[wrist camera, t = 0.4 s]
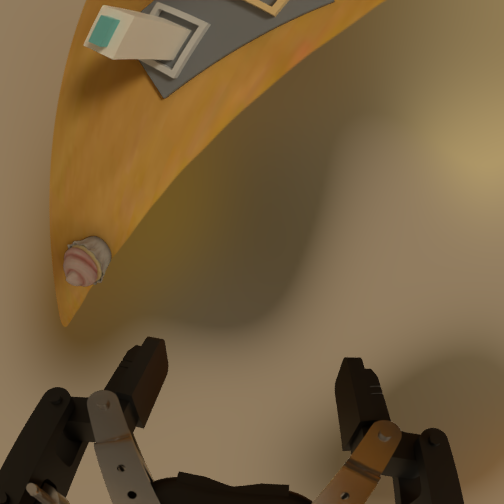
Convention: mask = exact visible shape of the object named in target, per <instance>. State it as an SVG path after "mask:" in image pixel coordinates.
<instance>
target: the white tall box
mask: <svg viewBox="0 0 504 504" xmlns="http://www.w3.org/2000/svg"><path fill="white" fill-rule="evenodd" d="M190 32H191V30H189V29H187V28H185V27H183V26H180V25H178V24H176V23H174V22H171V21H169V20H167V19H165V18H161V17H157V16H153V15H150V14H145V13H141V12H137V11H132V10H128V9H123V8H117V7H112V6H106V5H103V6H102V8H101V10H100V12H99V14H98V16H97V18H96V20H95V22H94V24H93V26H92V28H91V30H90V32H89V34H88V36H87V39H86V41H85V43H84V46H86V47H88V48H90V49H92V50H94V51H96V52H98V53H101V54H103V55H105V56H107V57H109V58H111V59H113V60H114V59H156V60H174V58H175V56H176V55H177V53H178V51H179V50H180V48H181V46H182V45H183V43H184V42H185V40H186V38H187V37H188V35H189V34H190Z"/></svg>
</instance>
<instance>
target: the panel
mask: <svg viewBox="0 0 504 504" xmlns="http://www.w3.org/2000/svg"><path fill="white" fill-rule="evenodd" d="M333 2H334V0H154V1H153V2H152V3H151V4H149V5H148V6H147V7H146V8H145V9H143V10H142V11H141V13H145V14H150V15H153V16H157V17H161V18H165V19H167V20H169V21H171V22H174V23H176V24H178V25H180V26H183V27H185V28H187V29H189V30H191V32H190V34H189V35H188V37H187V38H186V40H185V42H184V43H183V45H182V46H181V48H180V50H179V51H178V53H177V55H176V56H175V58H174V60H156V59H138V60H139V61H140V63H141V64H142V66H143V67H144V69H145V70H146V72H147V73H148V75H149V76H150V78H151V79H152V81H153V83H154V84H155V86H156V87H157V89H158V90H159V92H160V93H161V95H162V96H163V98H167V97H168V96H169V95H171V94H172V93H173V92H175V91H176V90H177V89H179V88H180V87H181V86H183V85H184V84H185V83H187V82H188V81H190V80H191V79H192V78H194V77H195V76H197V75H198V74H200V73H201V72H203V71H204V70H205V69H207V68H208V67H210V66H211V65H213V64H215V63H216V62H218V61H219V60H221V59H222V58H224V57H225V56H227V55H229V54H230V53H232V52H234V51H235V50H237V49H239V48H240V47H242V46H244V45H245V44H247V43H249V42H251V41H252V40H254V39H256V38H258V37H260V36H262V35H263V34H265V33H267V32H269V31H271V30H273V29H275V28H277V27H279V26H281V25H283V24H285V23H287V22H289V21H291V20H293V19H295V18H298V17H300V16H302V15H304V14H306V13H309V12H311V11H313V10H316V9H318V8H321V7H323V6H325V5H328V4H331V3H333Z"/></svg>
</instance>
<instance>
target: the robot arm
mask: <svg viewBox="0 0 504 504" xmlns="http://www.w3.org/2000/svg"><path fill="white" fill-rule="evenodd" d="M167 372H168V359H167V353H166V346H165V341H164V340H163V339H159V338H153V337H147V338H146V339H145V341H144V343H143V344H142V346H138V345H136V346H134V347H133V348H132V349H130V350H129V351H128V352H127V353H126V355H125V356H124V358H123V361H121V363H120V364H119V367H118V368H117V369H116V371H115V372H114V374H113V376H112V377H111V379H110V381H109V382H108V384H107V386H106V387H105V389H104V390H100V391H97V392H94V393H93V394H91V396H90V397H89V398H83V397H71V396H70V394H69V393H68V391H67V390H66V389H64V388H60V387H55V388H52V389H50V390H48V391H47V392H46V393H45V394H44V396H43V397H42V399H41V400H40V402H39V403H38V405H37V406H36V408H35V410H34V411H33V413H32V414H31V416H30V418H29V419H28V421H27V423H26V424H25V426H24V428H23V430H22V431H21V433H20V435H19V436H18V438H17V440H16V442H15V444H14V445H13V447H12V449H11V451H10V453H9V454H8V456H7V458H6V460H5V462H4V464H3V466H2V468H1V470H0V504H70V503H69V501H68V500H67V499H66V496H67V493H68V491H69V488H70V485H71V483H72V480H73V478H74V476H75V473H76V471H77V468H78V466H79V464H80V461H81V459H82V456H83V454H84V452H85V449H86V447H87V445H88V443H89V442H96V443H94V449H95V452H96V456H97V459H98V463H99V466H100V469H101V472H102V475H103V478H104V481H105V484H106V487H107V490H108V492H109V495H110V498H111V500H112V503H113V504H365V502H366V501H367V499H368V498H369V496H370V495H371V493H372V492H373V490H374V489H375V487H376V486H377V484H378V482H379V481H380V478H381V477H380V476H381V475H385V476H392V477H393V484H394V493H395V502H396V504H464V501H463V496H462V492H461V487H460V483H459V479H458V474H457V470H456V467H455V463H454V460H453V455H452V452H451V449H450V445H449V442H448V438H447V436H446V435H445V433H444V432H442V431H441V430H439V429H436V428H430V429H426V430H425V431H423V432H422V434H421V435H418V434H412V433H406V432H403V431H401V430H400V428H399V427H398V426H397V425H396V424H395V423H393V422H391V420H390V417H389V413H388V410H387V406H386V403H385V399H384V396H383V394H382V390H381V387H380V383H379V380H378V377H377V376H376V374H375V373H374V372H373V371H372V370H371V369H365V368H364V365H363V361H362V359H361V358H346V357H345V358H344V359H343V362H342V364H341V367H340V371H339V373H338V377H337V379H336V383H335V397H336V404H337V411H338V418H339V425H340V432H341V440H342V449H343V451H351V456H350V458H349V459H348V460H347V461H346V462H345V464H344V465H343V466H342V468H341V469H340V470H339V471H338V473H337V474H336V475H335V476H334V478H333V479H332V480H331V481H330V483H329V484H328V485H327V486H326V488H325V489H324V490H323V491H322V492H321V493H320V494H319V496H318V497H317V498H316V499H315V500H314V501H313V502H312V501H311V500H309V499H308V498H306V497H304V496H302V495H300V494H298V493H295V492H292V491H289V485H278V484H255V485H247V486H236V487H233V486H228V485H226V484H223V483H220V482H217V481H215V480H212V479H210V478H207V477H204V476H198V475H193V474H188V473H184V472H179V473H178V477H172V478H164V479H160V480H156V481H154V479H153V477H152V475H151V474H150V471H149V469H148V467H147V465H146V463H145V461H144V458H143V456H142V454H141V451H140V449H139V447H138V444H137V442H136V439H135V437H134V434H133V432H134V429H135V427H140V428H144V427H145V425H146V422H147V420H148V418H149V415H150V413H151V411H152V408H153V406H154V404H155V401H156V399H157V397H158V394H159V392H160V390H161V387H162V385H163V382H164V380H165V378H166V375H167Z"/></svg>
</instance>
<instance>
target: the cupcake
mask: <svg viewBox="0 0 504 504" xmlns="http://www.w3.org/2000/svg"><path fill="white" fill-rule="evenodd" d="M110 261H111V252H110V249H109V247H108V246H107V244H106V243H105V242H104V241H103V240H102V239H100V238H99V237H96V236H91V237H88V238H86V239H84V240H82V241H74V242H73V244H70V245H68V250H67V251H66V253H65V255H64V264H63V268H64V272H65V275H66V281H67V282H68V283H70V284H72V285H74V286H80V285H81V286H89V285H92V284H95V285H96V283H97V282H100V283H101V282H102V279H103V276H104V275H105V271H106V269H107V267H108V265H109V263H110Z"/></svg>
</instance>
